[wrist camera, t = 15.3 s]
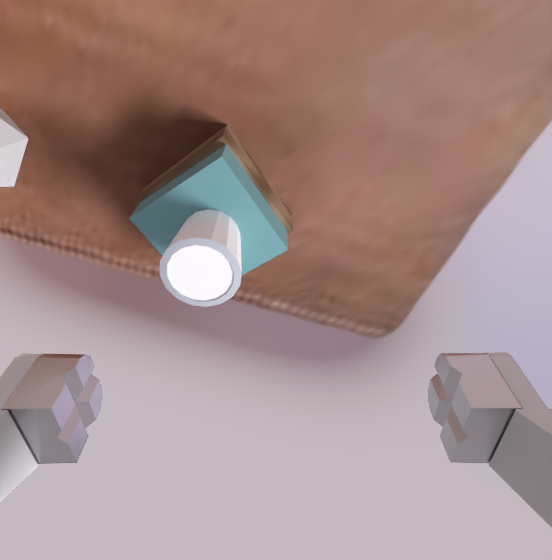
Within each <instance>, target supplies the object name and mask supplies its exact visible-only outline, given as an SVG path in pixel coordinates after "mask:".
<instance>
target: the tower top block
mask: <svg viewBox="0 0 552 560" xmlns="http://www.w3.org/2000/svg"><path fill="white" fill-rule="evenodd" d="M206 209H211V210H218V211H221V212H223V213H225V214H226V215H228V216H230V217H231V218H232V219H233V221H234V222H235V223H236V224H237V226H238V229H239V232H240V237H241V266H242V274H241V275H243V274H245V273H247V272H248V271H250V270H252V269H254V268H256V267H258V266H259V265H261V264H263V263H265V262H267V261H268V260H270V259H272V258H274V257H276V256H277V255H279V254H281V253H283V252H285V251H287V250H288V239H287V231H286V229H285V228H284V226H283V225H282V223H281V222H280V220H279V219H278V218H277V216H276V215H275V213H274V212H273V210H272V209H271V207H270V206H269V205H268V203H267V202H266V200H265V199H264V197H263V196H262V194H261V193H260V192H259V190H258V189H257V187H256V186H255V184H254V183H253V181H252V180H251V179H250V177H249V176H248V174H247V173H246V171H245V170H244V168H243V167H242V166H241V164H240V163H239V161H238V160H237V158H236V157H235V155H234V154H233V153H232V151H231V150H230V148H229V147H228V145H227V144H226V145H224V146H223V147H221V148H220V149H218V150H217V151H215V152H214V153H212V154H211V155H209V156H208V157H206V158H205V159H203V160H202V161H200V162H199V163H197V164H196V165H195V166H193V167H192V168H190V169H189V170H187V171H186V172H184V173H183V174H181V175H180V176H178V177H177V178H175V179H174V180H172V181H171V182H169V183H168V184H167V185H165V186H164V187H162V188H161V189H159V190H158V191H156V192H155V193H153V194H152V195H150V196H149V197H147V198H146V199H144V200H143V201H141V202H140V204H139V205H138V206H137V208H136V209H135V211H134V212H133V213H132V215H131V216H130V218H129V219H130V221H131V222H132V223H133V224H134V225H135V226H136V227H137V228H138V229H139V230H140V231H141V233H142V234H143V235H144V236H145V237H146V238H147V239H148V240H149V241H150V242H151V244H152V245H153V246H154V247H155V248H156V249H157V250H158V251H159V252H160V253H161V255H162V256H163V255H164V253H165V251H166V249H167V248H168V246H169V245H170V243H171V242H172V241H173V239H174V238H175V236H176V235H177V233H178V232H179V230H180V229H181V227H182V226H183V225H184V223H185V222H186V220H187V219H188V218H189V217H190V216H191V215H193V214H194V213H195V212H197V211H202V210H206Z"/></svg>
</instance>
